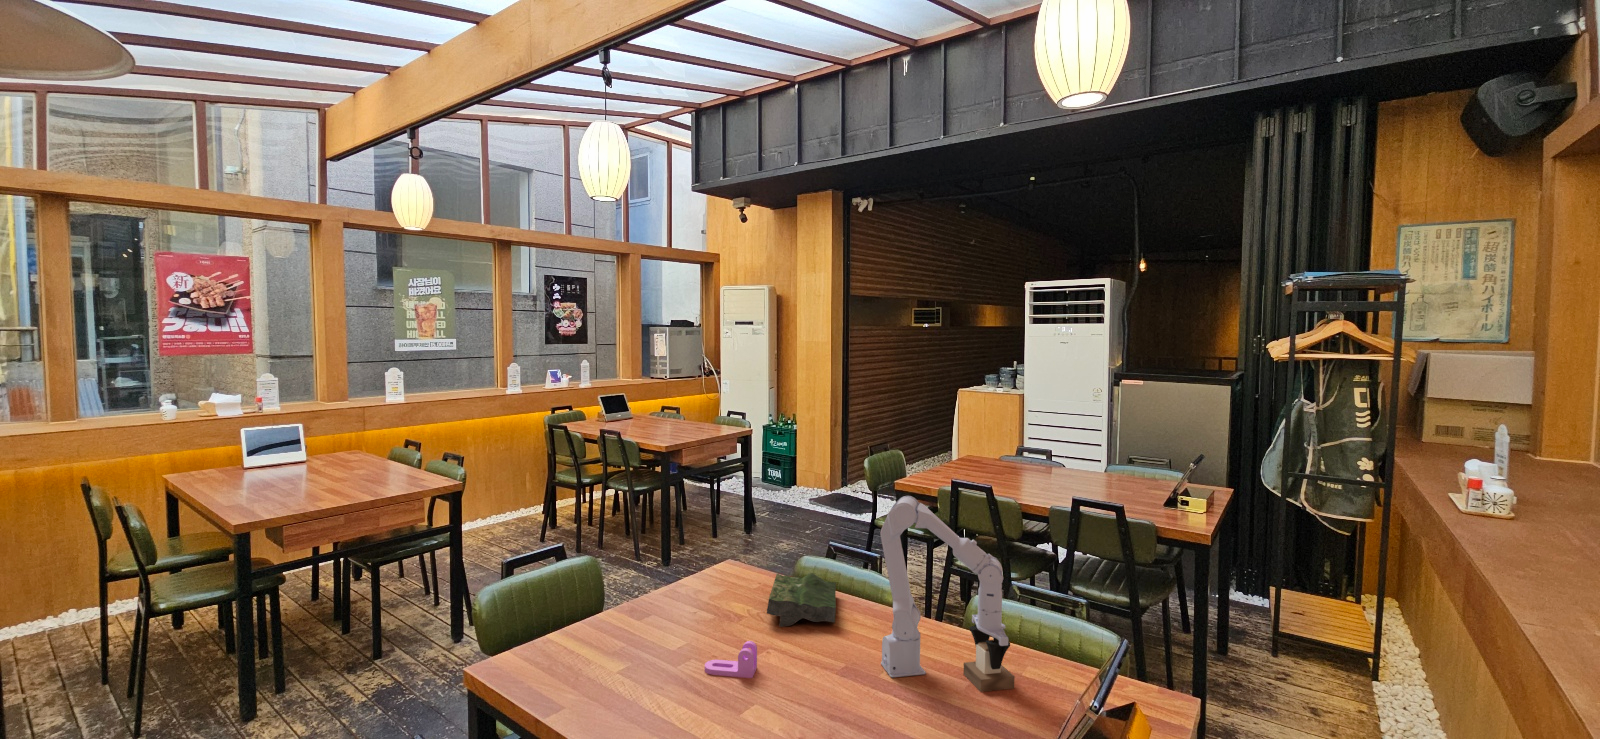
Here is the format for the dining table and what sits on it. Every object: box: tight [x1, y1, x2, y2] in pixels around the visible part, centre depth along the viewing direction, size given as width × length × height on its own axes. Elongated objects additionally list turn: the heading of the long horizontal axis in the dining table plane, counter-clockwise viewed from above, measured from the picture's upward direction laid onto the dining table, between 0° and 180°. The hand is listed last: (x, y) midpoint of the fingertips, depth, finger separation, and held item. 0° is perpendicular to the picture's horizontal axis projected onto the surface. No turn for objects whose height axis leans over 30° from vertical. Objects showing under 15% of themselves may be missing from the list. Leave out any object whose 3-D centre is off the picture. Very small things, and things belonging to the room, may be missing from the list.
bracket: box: [704, 640, 758, 679], centre depth 167 cm, size 13×6×7 cm, turn 82°
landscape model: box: [766, 572, 837, 628], centre depth 208 cm, size 26×20×10 cm
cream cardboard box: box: [975, 642, 1001, 674], centre depth 164 cm, size 4×4×6 cm
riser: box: [962, 660, 1016, 693], centre depth 164 cm, size 9×9×3 cm
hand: (988, 662), depth 164 cm, fingers open, 6 cm apart
